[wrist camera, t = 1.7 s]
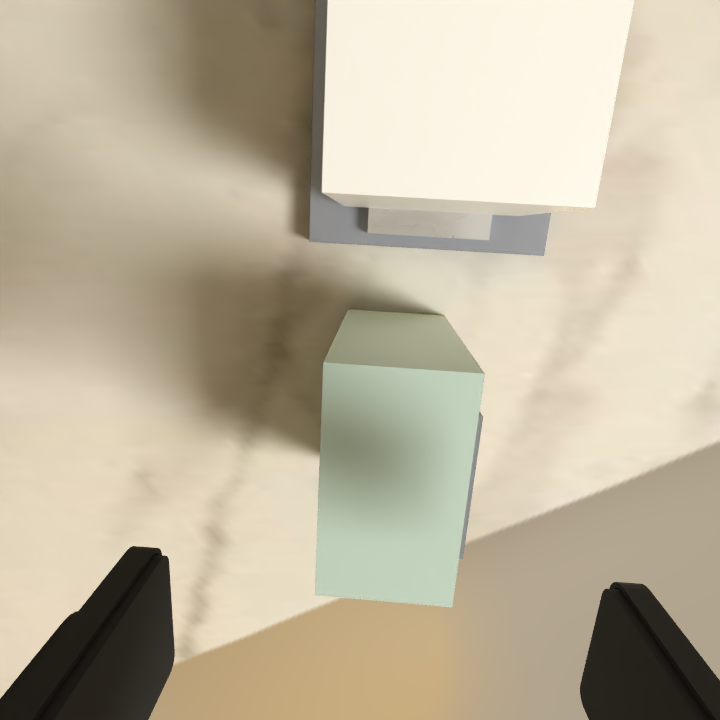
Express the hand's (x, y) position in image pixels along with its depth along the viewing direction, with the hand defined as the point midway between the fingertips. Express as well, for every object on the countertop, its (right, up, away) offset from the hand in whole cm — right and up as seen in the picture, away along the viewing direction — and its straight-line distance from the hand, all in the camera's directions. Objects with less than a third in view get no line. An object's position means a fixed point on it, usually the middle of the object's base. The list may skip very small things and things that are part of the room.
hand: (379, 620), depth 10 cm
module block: (+1, +4, +13) cm, 13 cm away
